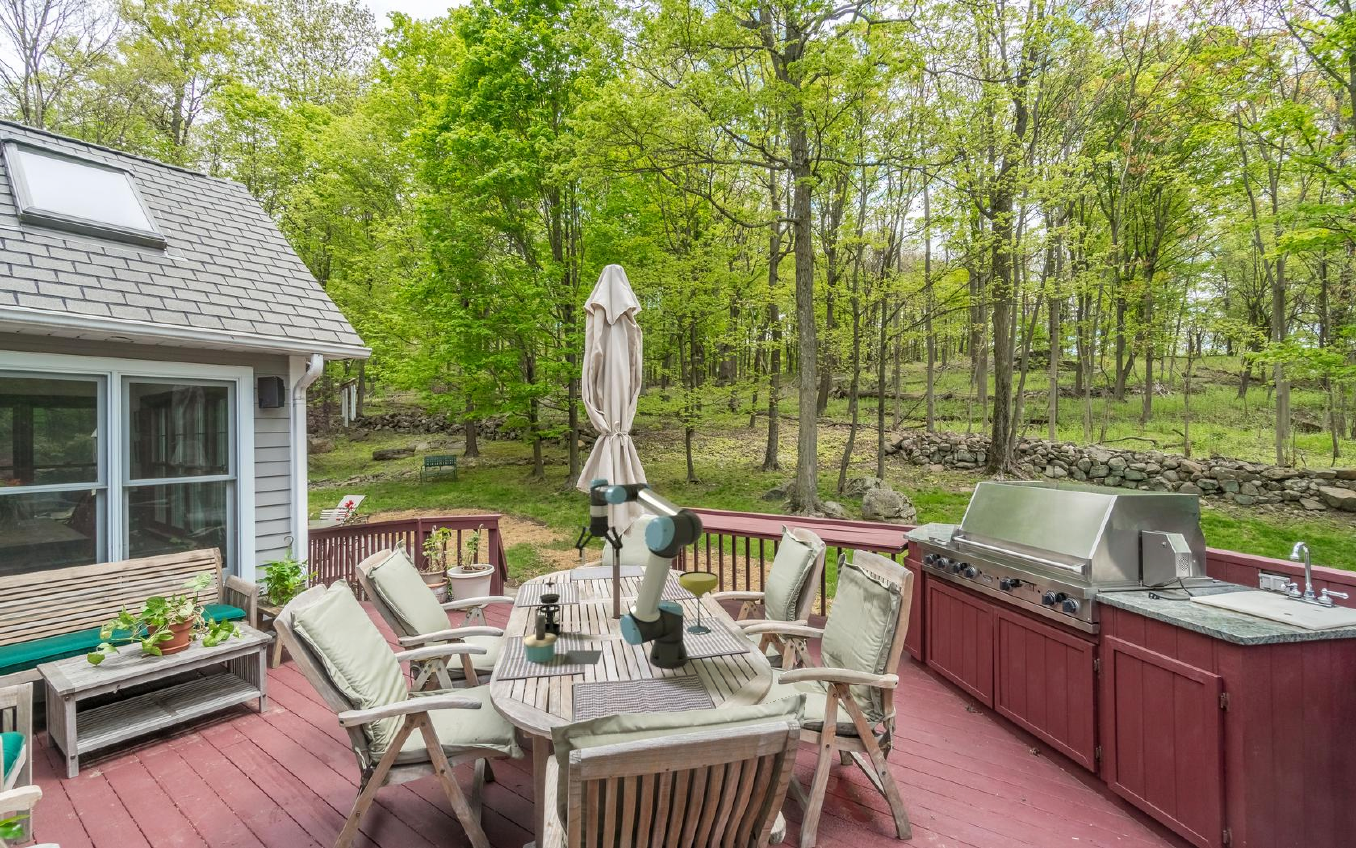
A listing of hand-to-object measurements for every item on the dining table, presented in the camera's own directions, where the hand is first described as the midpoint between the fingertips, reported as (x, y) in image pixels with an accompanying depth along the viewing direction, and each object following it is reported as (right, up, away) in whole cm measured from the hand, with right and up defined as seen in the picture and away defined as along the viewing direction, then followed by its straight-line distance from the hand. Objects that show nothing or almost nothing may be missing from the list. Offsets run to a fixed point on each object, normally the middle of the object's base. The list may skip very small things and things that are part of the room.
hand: (599, 565), depth 249 cm
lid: (-22, -28, -13) cm, 38 cm away
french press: (-25, -35, +15) cm, 46 cm away
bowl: (-22, -35, -13) cm, 43 cm away
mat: (-5, -35, -13) cm, 37 cm away
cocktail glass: (+43, -35, +20) cm, 59 cm away
